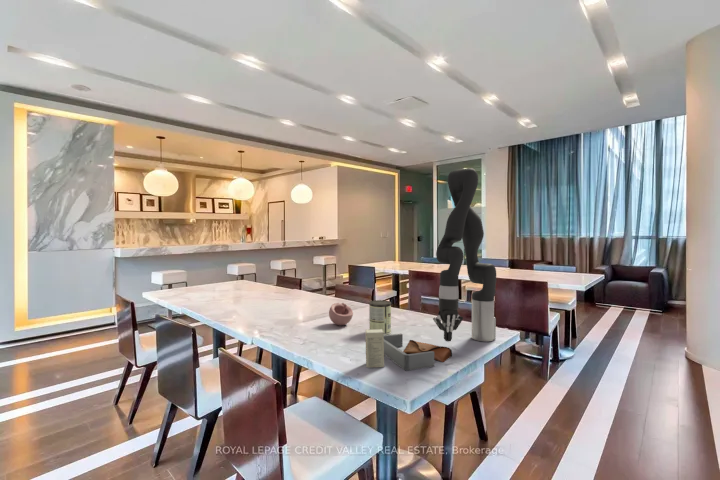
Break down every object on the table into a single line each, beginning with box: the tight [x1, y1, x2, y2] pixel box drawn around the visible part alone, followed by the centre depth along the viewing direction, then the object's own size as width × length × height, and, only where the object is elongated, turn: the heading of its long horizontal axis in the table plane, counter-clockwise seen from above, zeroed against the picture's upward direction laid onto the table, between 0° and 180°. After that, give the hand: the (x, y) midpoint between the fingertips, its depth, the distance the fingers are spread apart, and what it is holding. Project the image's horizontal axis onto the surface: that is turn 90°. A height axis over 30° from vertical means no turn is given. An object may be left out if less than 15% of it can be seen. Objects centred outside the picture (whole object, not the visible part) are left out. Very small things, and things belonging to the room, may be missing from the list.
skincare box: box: [365, 329, 385, 369], centre depth 123 cm, size 6×4×12 cm
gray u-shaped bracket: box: [384, 333, 435, 372], centre depth 132 cm, size 11×24×5 cm, turn 21°
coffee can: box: [368, 299, 392, 335], centre depth 164 cm, size 10×10×14 cm
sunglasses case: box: [402, 339, 453, 363], centre depth 135 cm, size 18×7×7 cm
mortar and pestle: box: [328, 302, 354, 326], centre depth 177 cm, size 12×12×12 cm
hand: (447, 340), depth 139 cm, fingers closed
